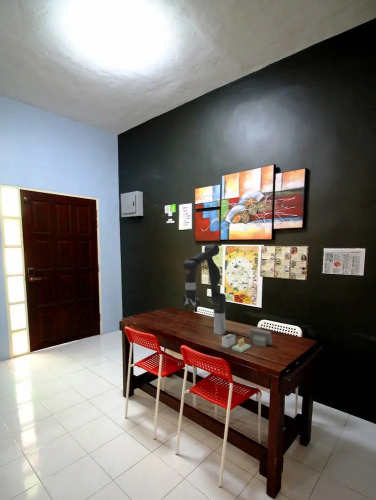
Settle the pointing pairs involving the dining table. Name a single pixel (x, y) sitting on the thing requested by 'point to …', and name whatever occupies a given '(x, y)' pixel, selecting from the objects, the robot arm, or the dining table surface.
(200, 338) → the dining table surface
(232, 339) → the plug housing
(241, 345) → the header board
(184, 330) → the dining table surface
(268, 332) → the digital clock
